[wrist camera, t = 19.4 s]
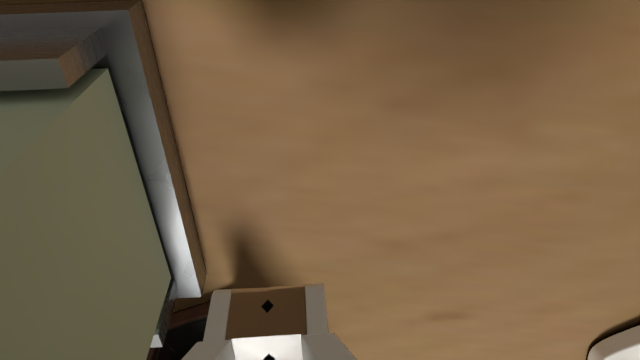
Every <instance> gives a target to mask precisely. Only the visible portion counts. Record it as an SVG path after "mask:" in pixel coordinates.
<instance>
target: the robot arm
mask: <svg viewBox="0 0 640 360" xmlns="http://www.w3.org/2000/svg"><path fill="white" fill-rule="evenodd" d="M305 297H306V298H305ZM181 360H357V359H356V358H355V357H354V355H353V354H352V353H351V352H350V351H349V350H348V349H347V347H346V346H345V345H344V344H343V343H342V342H341V341H340V339H339V338H338V337H337V336H336V335H335V334H334V333H328V323H327V312H326V301H325V290H324V285H323V283H321V284H306V285H305V284H303V285H290V286H276V287H269V288H242V289H223V290H214V292H213V293H212V296H211V302H210V307H209V312H208V317H207V323H206V328H205V333H204V338H203V342H197V343H196V344H195V345H194V346H193V347H192V348H191V350H190V351H189V352H188V353H187V354H186V355H185V356H184V357H183V358H182V359H181ZM588 360H640V325H639V326H636V327H633V328H631V329H628V330H626V331H623V332H620V333H618V334H615V335H613V336H611V337H608V338H606V339H604V340H602V341H600V342H599V343H597V344H596V345H595V346H593V347H592V349H591V350H590V352H589V355H588Z"/></svg>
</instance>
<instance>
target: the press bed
mask: <svg viewBox="0 0 640 360" xmlns="http://www.w3.org/2000/svg"><path fill="white" fill-rule="evenodd" d="M105 68H108V71H109V74H110V77H111V80H112V84H113V87H114V90H115V94H116V97H117V100H118V104H119V107H120V110H121V113H122V117H123V120H124V123H125V127H126V130H127V133H128V137H129V140H130V143H131V146H132V150H133V153H134V156H135V160H136V163H137V166H138V170H139V173H140V176H141V179H142V183H143V186H144V189H145V193H146V196H147V199H148V203H149V206H150V209H151V212H152V216H153V219H154V222H155V226H156V229H157V232H158V236H159V239H160V242H161V245H162V249H163V252H164V255H165V259H166V262H167V265H168V269H169V272H170V275H171V280H170V283H169V287H168V290H167V293H166V296H165V300H164V303H163V306H162V310H161V313H160V316H159V319H158V323H157V326H156V329H155V333H154V336H153V339H152V342H151V346H150V348H154V347H163V344H164V340H165V337H166V333H167V329H168V326H169V322H170V319H171V315H172V311H173V308H174V304H175V301H176V298H191V297H202V293H203V288H204V283H205V279H206V269H205V265H204V261H203V257H202V252H201V248H200V244H199V240H198V236H197V231H196V227H195V223H194V219H193V214H192V210H191V206H190V202H189V198H188V193H187V189H186V185H185V181H184V177H183V172H182V168H181V164H180V160H179V155H178V151H177V147H176V143H175V139H174V134H173V130H172V126H171V122H170V117H169V113H168V109H167V105H166V101H165V96H164V92H163V88H162V84H161V80H160V75H159V71H158V67H157V63H156V58H155V54H154V50H153V46H152V42H151V37H150V33H149V29H148V25H147V20H146V16H145V12H144V8H143V4H142V0H124V1H97V2H69V3H42V4H14V5H0V91H14V90H37V89H60V88H69V87H70V86H71V85H72V84H73V83H75V82H76V81H77V80H78V79H79V78H80V77H81V76H82V75H84V74H85V73H86V72H87V71H88V70H89V69H105Z"/></svg>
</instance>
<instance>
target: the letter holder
mask: <svg viewBox="0 0 640 360" xmlns="http://www.w3.org/2000/svg"><path fill="white" fill-rule="evenodd" d="M209 307H210V302H208V303H205V304H201V305H198V306H195V307H192V308H189V309H186V310H183V311H179V312H176V313H173V314H172V315H171V319H170V322H169V326H168V329H167V333H166V337H165V340H164V344H163V347H154V348H150V349H149V352H148V356H147V359H146V360H181V359H182V358H183V357H184V356H185V355H186V354H187V353H188V352H189V351H190V350H191V348H192V347H193V346H194V345H195V344H196V343H197V342H203V338H204V333H205V328H206V323H207V317H208V312H209Z"/></svg>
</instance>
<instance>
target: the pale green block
mask: <svg viewBox="0 0 640 360" xmlns="http://www.w3.org/2000/svg"><path fill="white" fill-rule="evenodd" d="M170 280H171V275H170V272H169V269H168V265H167V262H166V259H165V255H164V252H163V249H162V245H161V242H160V239H159V236H158V232H157V229H156V226H155V222H154V219H153V216H152V212H151V209H150V206H149V203H148V199H147V196H146V193H145V189H144V186H143V183H142V179H141V176H140V173H139V170H138V166H137V163H136V160H135V156H134V153H133V150H132V146H131V143H130V140H129V137H128V133H127V130H126V127H125V123H124V120H123V117H122V113H121V110H120V107H119V104H118V100H117V97H116V94H115V90H114V87H113V84H112V80H111V77H110V74H109V71H108V68H105V69H89V70H88V71H87V72H86V73H85V74H84V75H82V76H81V77H80V78H79V79H78V80H77V81H76V82H75V83H73V84H72V85H71V86H70V87H69V88H60V89H37V90H14V91H0V360H146V359H147V356H148V352H149V349H150V346H151V342H152V339H153V336H154V333H155V329H156V326H157V323H158V319H159V316H160V313H161V310H162V306H163V303H164V300H165V296H166V293H167V290H168V287H169V283H170Z"/></svg>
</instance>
